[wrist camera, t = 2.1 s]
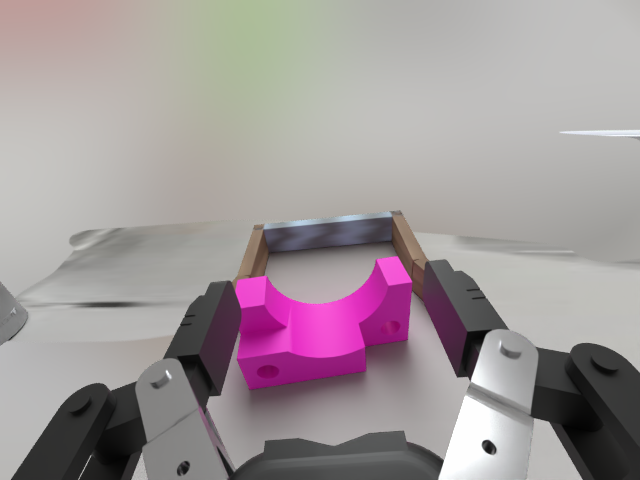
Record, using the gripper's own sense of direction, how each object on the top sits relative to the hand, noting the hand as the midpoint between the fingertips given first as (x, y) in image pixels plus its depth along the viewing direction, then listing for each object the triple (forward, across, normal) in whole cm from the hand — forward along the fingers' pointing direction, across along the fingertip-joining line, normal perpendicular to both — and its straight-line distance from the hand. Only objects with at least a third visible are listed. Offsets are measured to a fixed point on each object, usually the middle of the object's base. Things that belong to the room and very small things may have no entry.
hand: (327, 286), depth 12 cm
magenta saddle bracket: (+9, +1, +16) cm, 19 cm away
